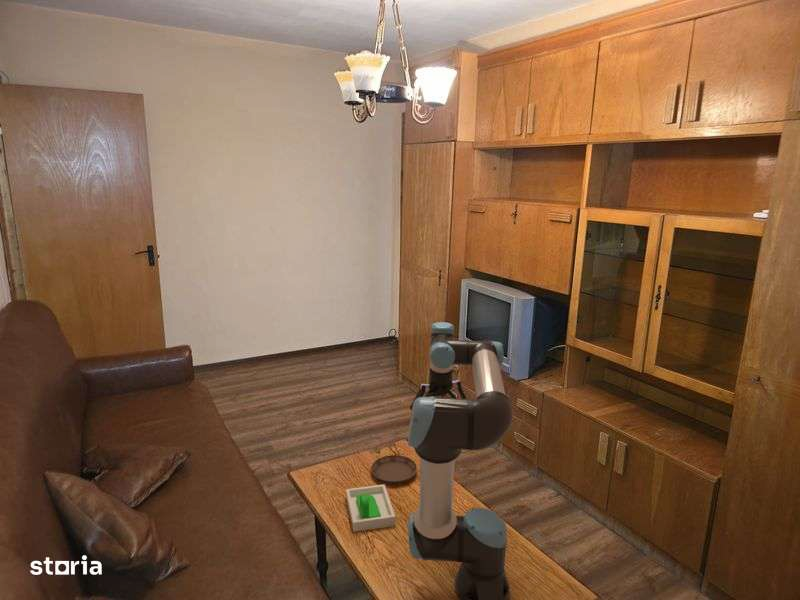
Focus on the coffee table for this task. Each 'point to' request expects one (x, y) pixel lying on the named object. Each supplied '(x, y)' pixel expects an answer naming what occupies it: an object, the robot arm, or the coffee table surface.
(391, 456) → the plant saucer
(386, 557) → the coffee table surface
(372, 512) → the mechanical part
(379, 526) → the tray
